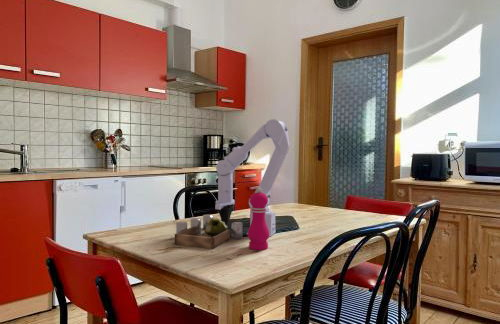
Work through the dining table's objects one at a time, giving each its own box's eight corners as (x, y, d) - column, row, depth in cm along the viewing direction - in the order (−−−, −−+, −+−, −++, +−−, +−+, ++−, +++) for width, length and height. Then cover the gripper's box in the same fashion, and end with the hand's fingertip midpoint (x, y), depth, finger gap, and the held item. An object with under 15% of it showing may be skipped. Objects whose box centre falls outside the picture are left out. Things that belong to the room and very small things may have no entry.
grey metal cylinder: (214, 228, 156) (214, 214, 156) (210, 230, 152) (210, 216, 152) (205, 227, 157) (205, 214, 157) (201, 229, 153) (201, 215, 153)
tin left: (244, 237, 141) (244, 222, 141) (240, 239, 138) (240, 224, 137) (234, 236, 143) (234, 221, 142) (229, 238, 139) (229, 223, 139)
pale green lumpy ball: (219, 241, 137) (216, 219, 136) (200, 240, 142) (197, 219, 141) (235, 234, 144) (231, 213, 143) (216, 233, 149) (213, 213, 149)
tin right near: (202, 232, 148) (202, 218, 148) (198, 234, 144) (198, 220, 144) (193, 231, 150) (193, 217, 149) (188, 233, 146) (188, 219, 146)
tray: (230, 239, 138) (230, 229, 138) (213, 248, 125) (213, 238, 125) (194, 235, 143) (194, 226, 143) (174, 244, 130) (174, 234, 130)
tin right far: (189, 236, 141) (189, 222, 141) (183, 239, 137) (183, 224, 137) (179, 235, 143) (179, 221, 142) (174, 238, 139) (174, 223, 139)
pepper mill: (262, 251, 122) (262, 189, 121) (243, 248, 126) (243, 188, 125) (273, 246, 128) (273, 187, 128) (254, 243, 132) (255, 186, 131)
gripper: (223, 188, 159) (223, 220, 159) (208, 192, 145) (208, 227, 146) (239, 189, 156) (239, 221, 157) (225, 193, 143) (224, 229, 143)
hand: (225, 224), depth 151 cm, fingers closed
